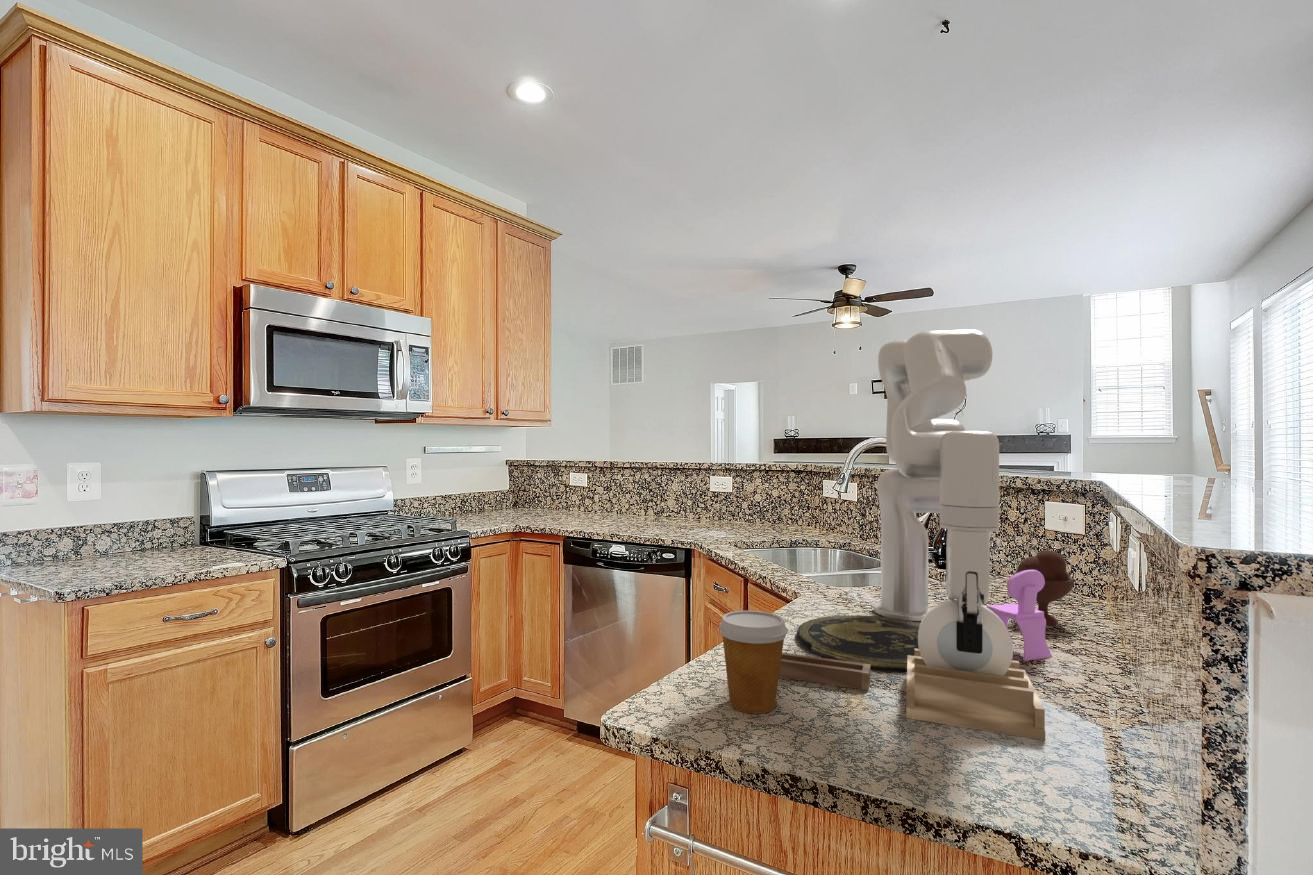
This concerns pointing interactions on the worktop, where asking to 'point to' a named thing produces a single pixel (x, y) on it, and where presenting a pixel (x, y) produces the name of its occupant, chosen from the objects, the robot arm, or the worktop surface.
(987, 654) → the side plate
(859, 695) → the worktop surface
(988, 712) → the dish rack
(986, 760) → the worktop surface
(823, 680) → the plate stand
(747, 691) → the disposable coffee cup
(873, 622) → the decorative plate
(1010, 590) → the toy chair
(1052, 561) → the ice cream bowl
